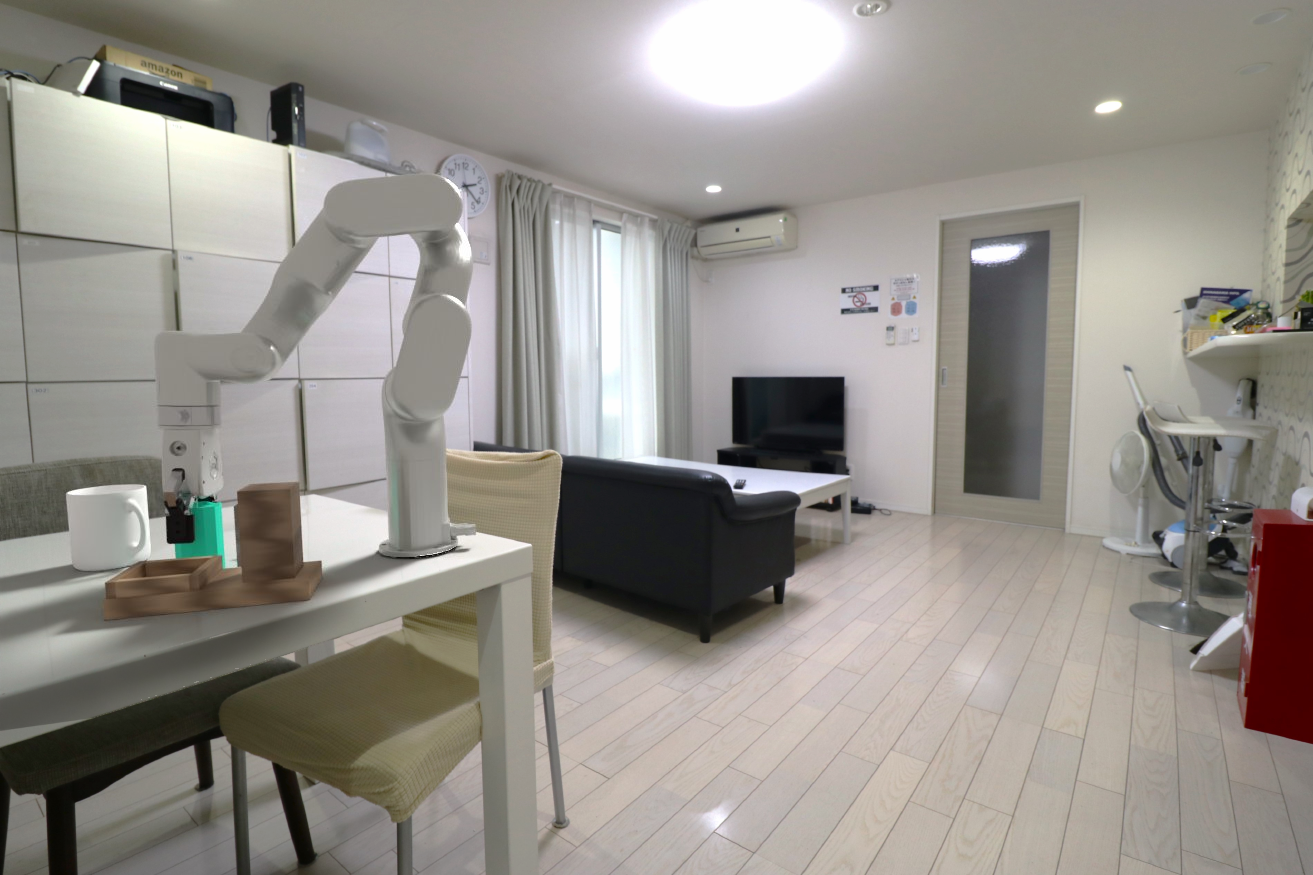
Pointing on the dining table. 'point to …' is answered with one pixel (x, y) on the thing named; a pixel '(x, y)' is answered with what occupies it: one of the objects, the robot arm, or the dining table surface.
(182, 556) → the candle
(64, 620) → the dining table surface
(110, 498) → the mug
